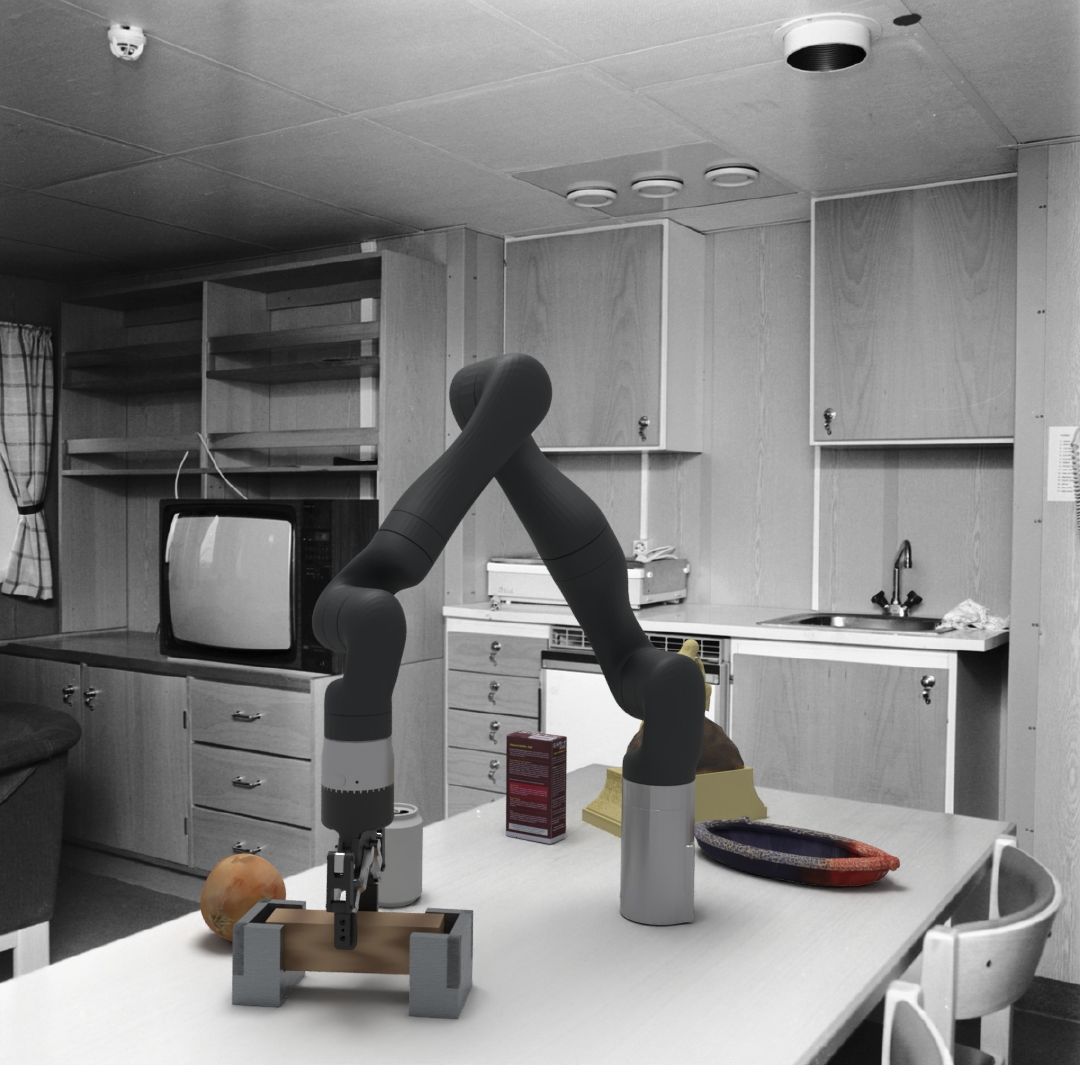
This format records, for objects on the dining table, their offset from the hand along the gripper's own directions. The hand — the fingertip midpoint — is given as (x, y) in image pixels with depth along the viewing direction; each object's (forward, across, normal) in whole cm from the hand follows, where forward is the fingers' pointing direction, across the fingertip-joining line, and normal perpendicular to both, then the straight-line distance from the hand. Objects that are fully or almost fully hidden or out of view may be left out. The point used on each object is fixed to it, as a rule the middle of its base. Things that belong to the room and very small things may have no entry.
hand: (357, 933), depth 121 cm
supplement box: (+7, +60, -12) cm, 61 cm away
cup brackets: (+6, 0, 0) cm, 6 cm away
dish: (+7, +50, -50) cm, 71 cm away
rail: (+3, 0, 0) cm, 3 cm away
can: (+7, +29, +3) cm, 30 cm away
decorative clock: (+7, +74, -34) cm, 81 cm away
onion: (+7, +13, +17) cm, 23 cm away
